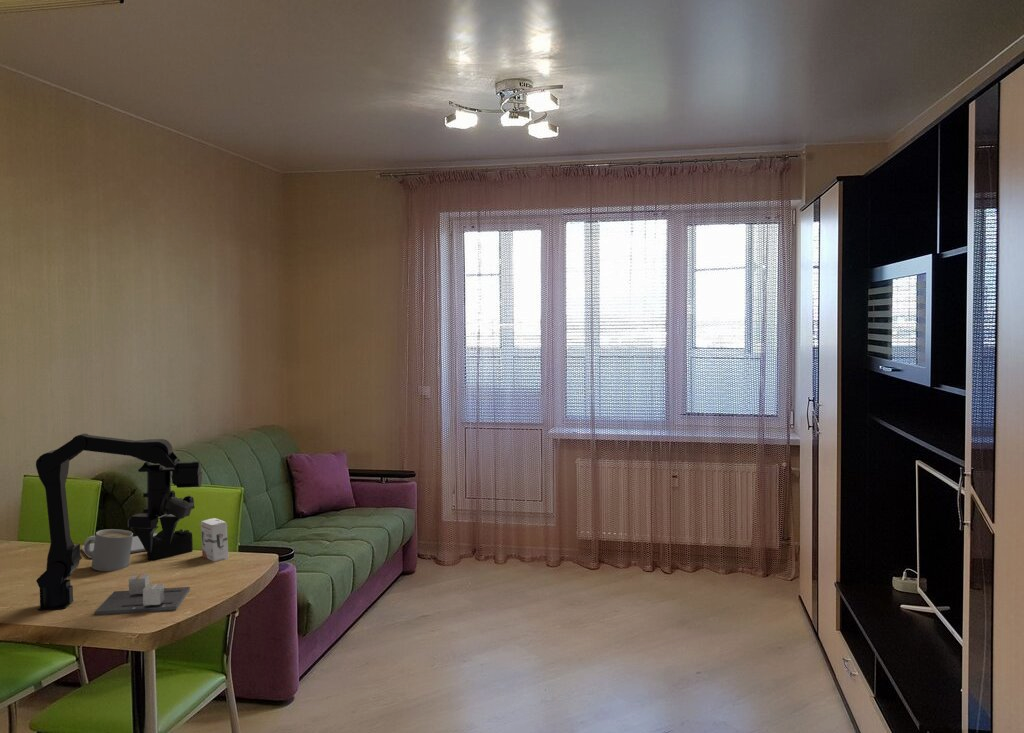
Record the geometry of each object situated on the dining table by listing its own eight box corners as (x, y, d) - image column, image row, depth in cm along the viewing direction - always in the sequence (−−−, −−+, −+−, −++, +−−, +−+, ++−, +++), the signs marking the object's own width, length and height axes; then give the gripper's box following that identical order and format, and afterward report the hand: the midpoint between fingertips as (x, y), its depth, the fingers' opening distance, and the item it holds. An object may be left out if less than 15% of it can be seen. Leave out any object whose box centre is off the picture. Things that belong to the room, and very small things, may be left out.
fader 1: (129, 594, 209) (128, 578, 209) (133, 589, 213) (133, 574, 213) (145, 593, 210) (145, 577, 210) (149, 588, 214) (149, 573, 214)
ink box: (200, 558, 248) (200, 520, 248) (216, 554, 252) (215, 517, 252) (213, 563, 242) (212, 524, 242) (229, 560, 246) (228, 521, 246)
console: (94, 615, 197) (94, 611, 197) (114, 595, 213) (114, 591, 213) (176, 610, 201) (176, 605, 201) (189, 590, 217) (189, 586, 217)
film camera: (180, 548, 260) (180, 521, 260) (196, 553, 254) (195, 525, 254) (134, 559, 248) (133, 530, 248) (149, 564, 242) (148, 535, 242)
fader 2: (143, 605, 200) (142, 589, 200) (147, 600, 204) (147, 584, 204) (160, 604, 201) (159, 588, 201) (164, 599, 205) (163, 583, 205)
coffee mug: (136, 566, 241) (140, 533, 241) (111, 573, 231) (116, 539, 231) (99, 557, 244) (103, 525, 244) (73, 564, 235) (78, 530, 235)
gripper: (168, 496, 198) (168, 558, 199) (206, 482, 217) (205, 540, 217) (126, 494, 199) (126, 556, 200) (167, 481, 218) (167, 538, 218)
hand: (158, 547), depth 209 cm, fingers open, 9 cm apart
